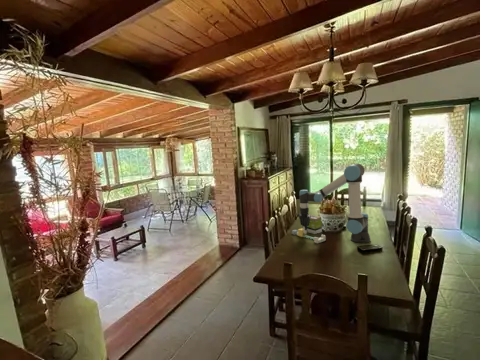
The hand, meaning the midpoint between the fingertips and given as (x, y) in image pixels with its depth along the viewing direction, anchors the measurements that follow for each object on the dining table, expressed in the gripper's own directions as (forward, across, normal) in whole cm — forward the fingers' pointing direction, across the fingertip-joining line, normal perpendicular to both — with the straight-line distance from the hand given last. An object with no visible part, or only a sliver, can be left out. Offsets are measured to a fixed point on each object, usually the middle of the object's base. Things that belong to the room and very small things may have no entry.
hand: (304, 233), depth 253 cm
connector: (+3, +12, 0) cm, 12 cm away
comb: (+3, -16, 0) cm, 17 cm away
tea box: (+4, +6, -16) cm, 17 cm away
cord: (+3, -2, 0) cm, 4 cm away
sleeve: (+3, +3, 0) cm, 5 cm away
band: (+3, +8, 0) cm, 8 cm away
